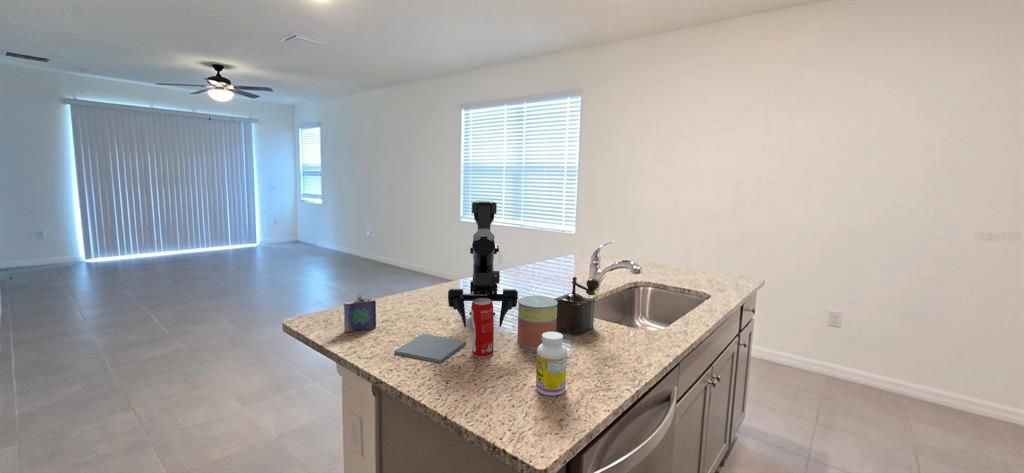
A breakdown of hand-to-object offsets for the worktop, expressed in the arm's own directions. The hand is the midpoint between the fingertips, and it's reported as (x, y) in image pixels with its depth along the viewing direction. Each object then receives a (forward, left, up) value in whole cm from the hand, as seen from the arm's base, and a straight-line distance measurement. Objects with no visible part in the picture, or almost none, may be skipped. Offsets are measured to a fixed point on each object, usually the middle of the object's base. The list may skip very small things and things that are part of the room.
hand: (482, 326), depth 117 cm
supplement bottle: (0, +24, -8) cm, 26 cm away
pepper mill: (-36, +4, -8) cm, 37 cm away
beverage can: (-1, -1, -8) cm, 8 cm away
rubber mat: (+7, -13, -8) cm, 17 cm away
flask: (+15, -39, -8) cm, 42 cm away
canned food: (-19, +2, -8) cm, 20 cm away
